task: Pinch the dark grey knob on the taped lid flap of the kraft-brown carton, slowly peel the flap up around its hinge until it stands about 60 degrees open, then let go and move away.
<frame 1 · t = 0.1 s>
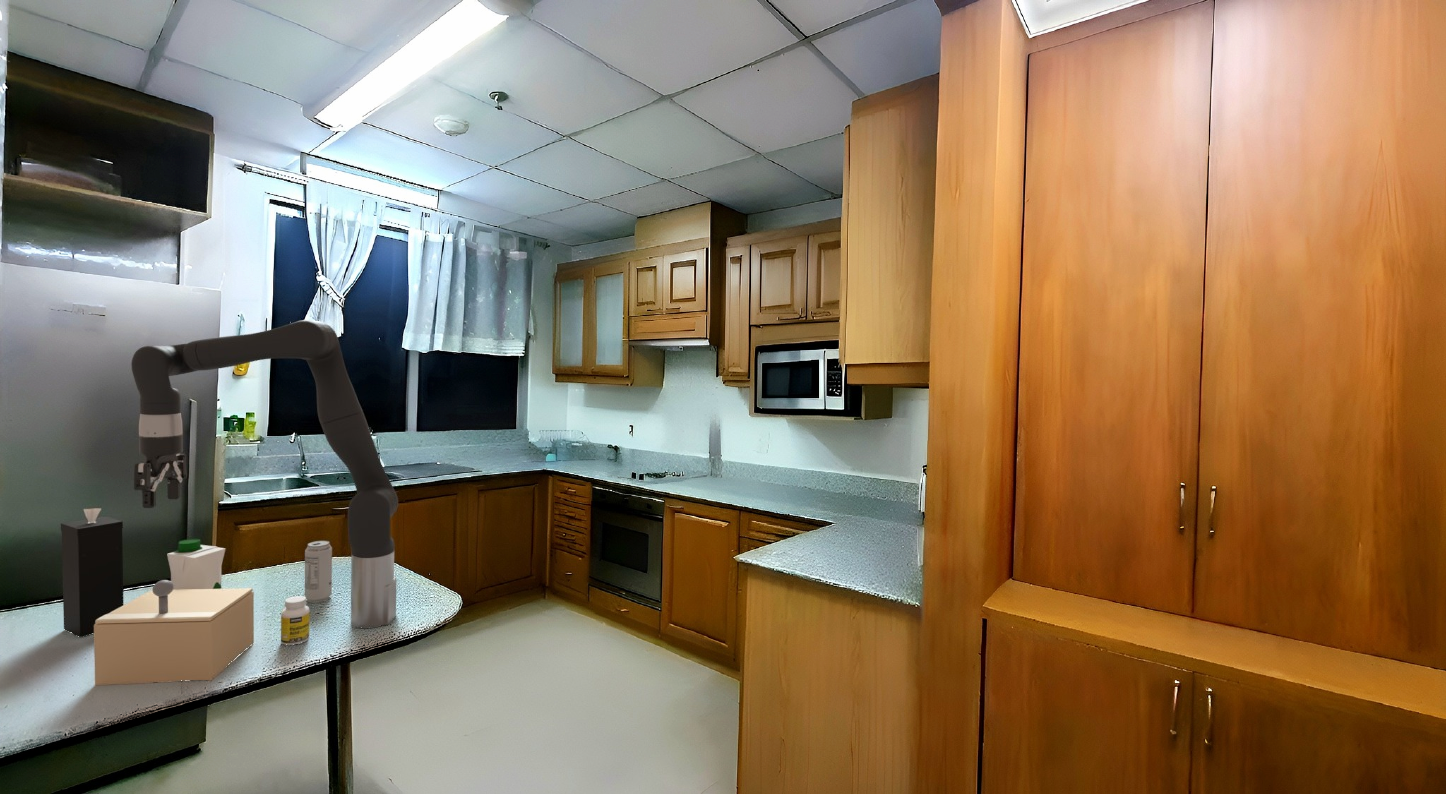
hand: (162, 503, 149), 29 cm above the table, tool pointing down, fingers open, 8 cm apart
flap: (179, 588, 134), point 16 cm above the table, hinge at 0.0°
energy drink can: (318, 599, 171), on the table
milk carton: (197, 626, 153), on the table
carton: (180, 662, 135), on the table
supplement bottle: (295, 641, 148), on the table
tall black box: (94, 628, 149), on the table
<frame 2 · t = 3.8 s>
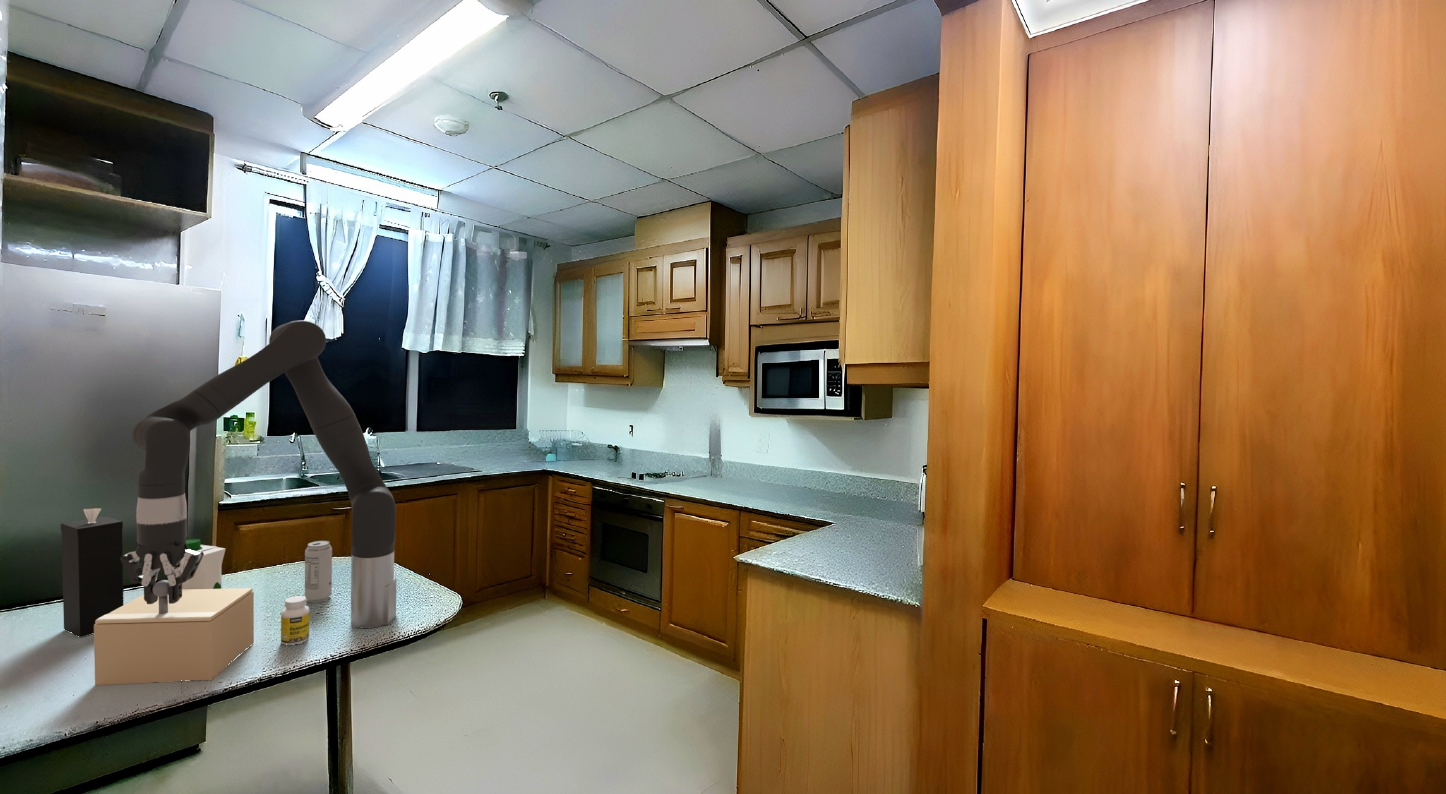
hand: (163, 602, 129), 15 cm above the table, tool pointing down, fingers closed on flap, 3 cm apart
flap: (179, 588, 134), point 16 cm above the table, hinge at 0.0°, touching gripper
everything else where it was.
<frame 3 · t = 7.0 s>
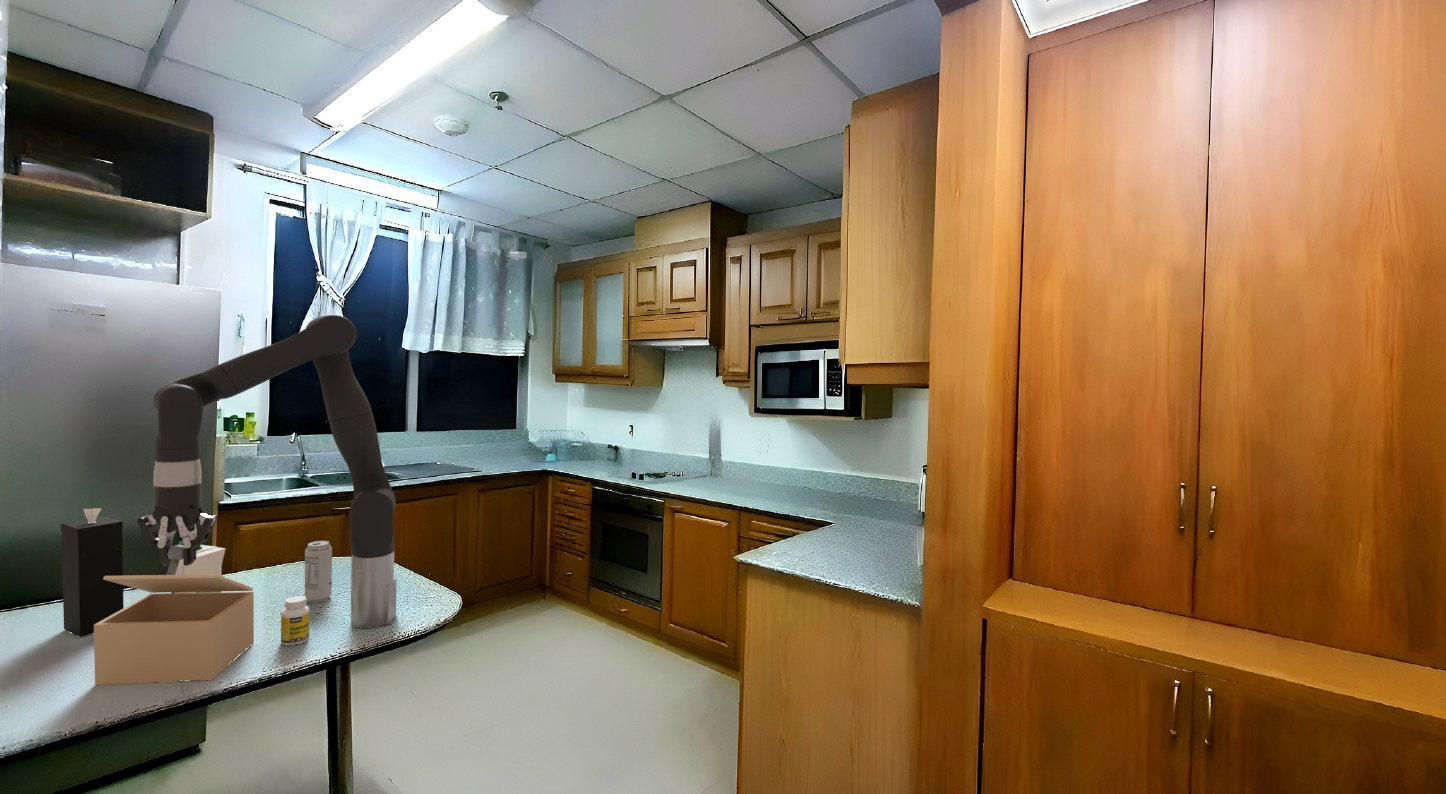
hand: (177, 564, 134), 21 cm above the table, tool pointing down, fingers closed on flap, 3 cm apart
flap: (188, 567, 137), point 19 cm above the table, hinge at 30.1°, touching gripper
everything else where it was.
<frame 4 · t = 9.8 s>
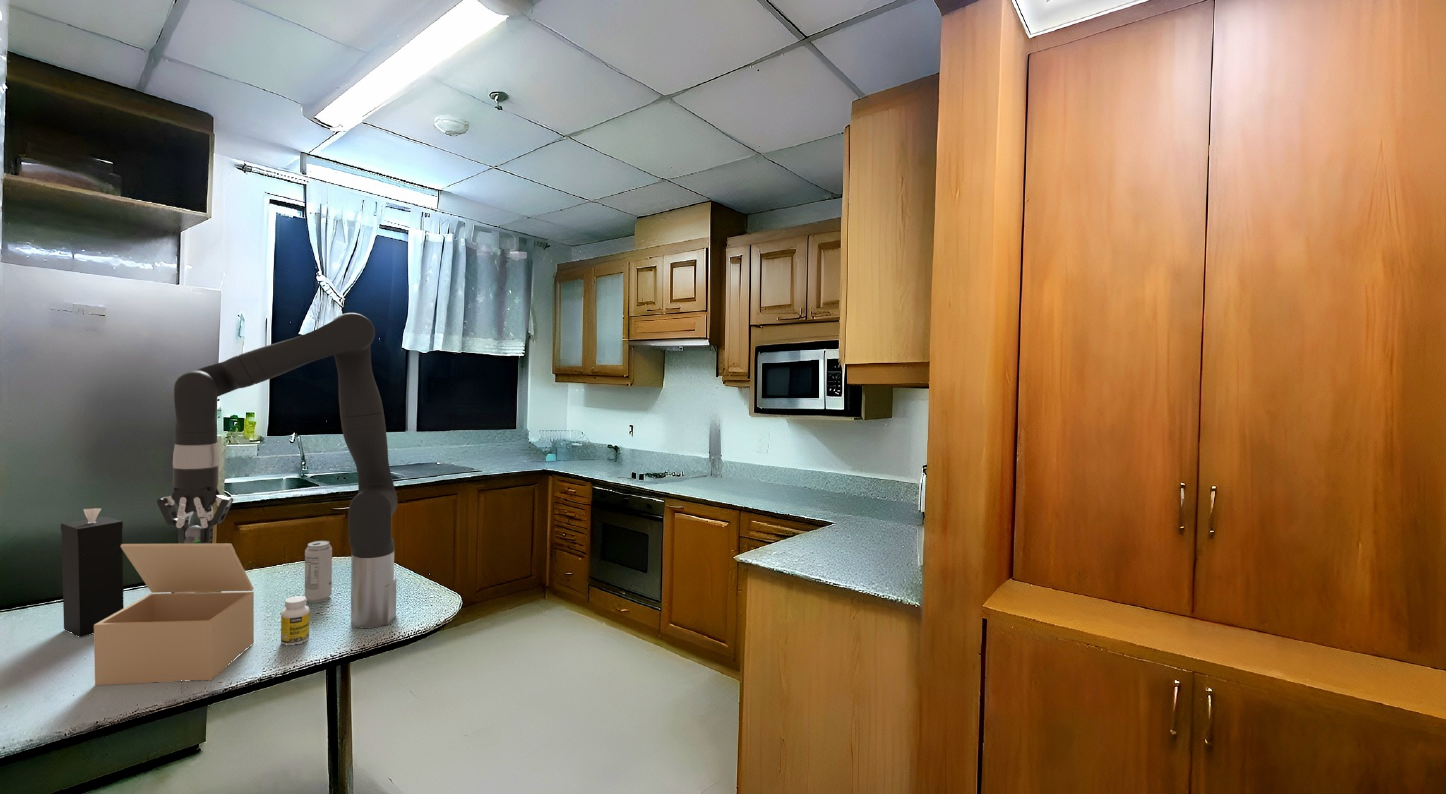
hand: (195, 543, 139), 24 cm above the table, tool pointing down, fingers closed on flap, 3 cm apart
flap: (198, 555, 140), point 21 cm above the table, hinge at 55.3°, touching gripper
everything else where it was.
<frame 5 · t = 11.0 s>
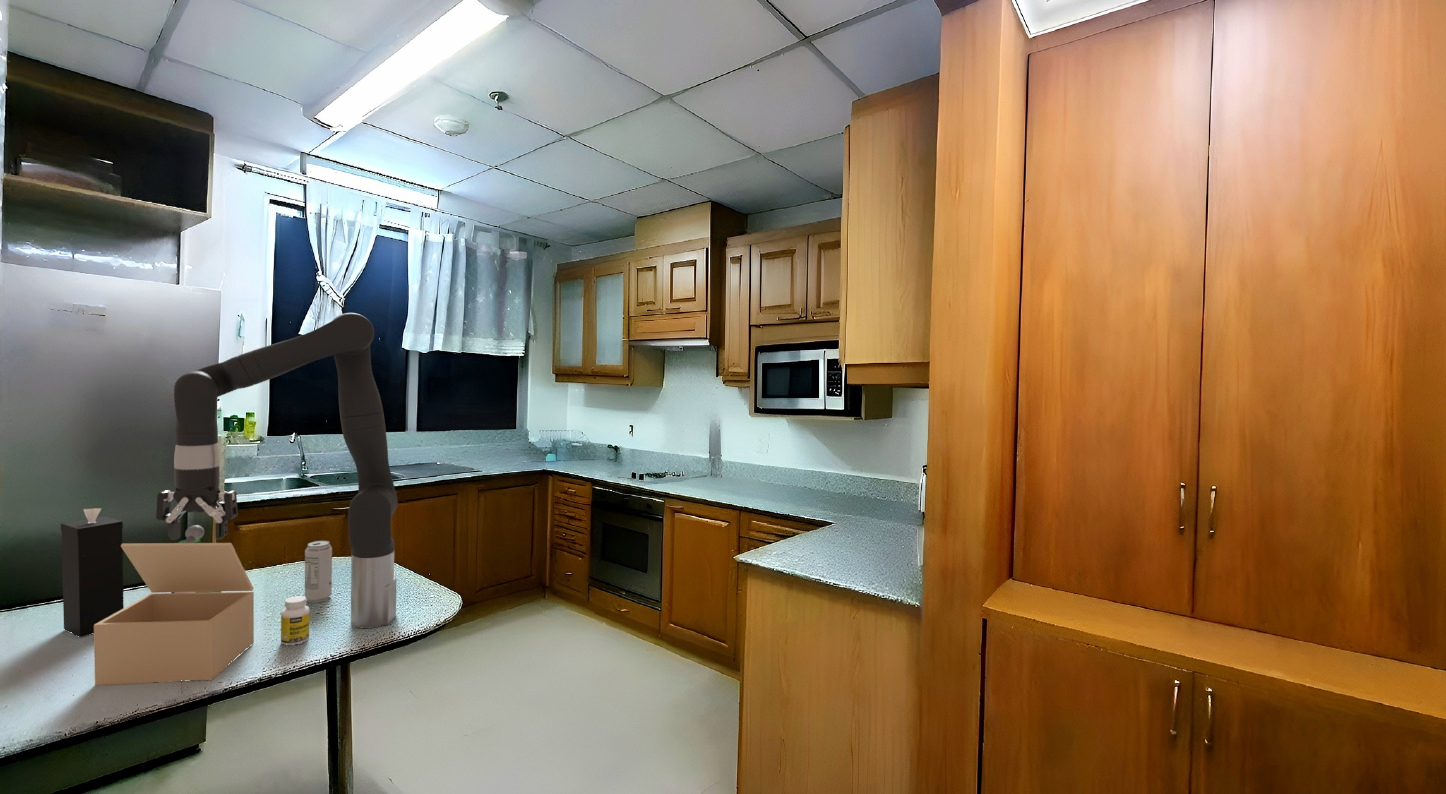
hand: (197, 538, 140), 24 cm above the table, tool pointing down, fingers open, 8 cm apart
flap: (198, 555, 140), point 21 cm above the table, hinge at 55.7°
everything else where it was.
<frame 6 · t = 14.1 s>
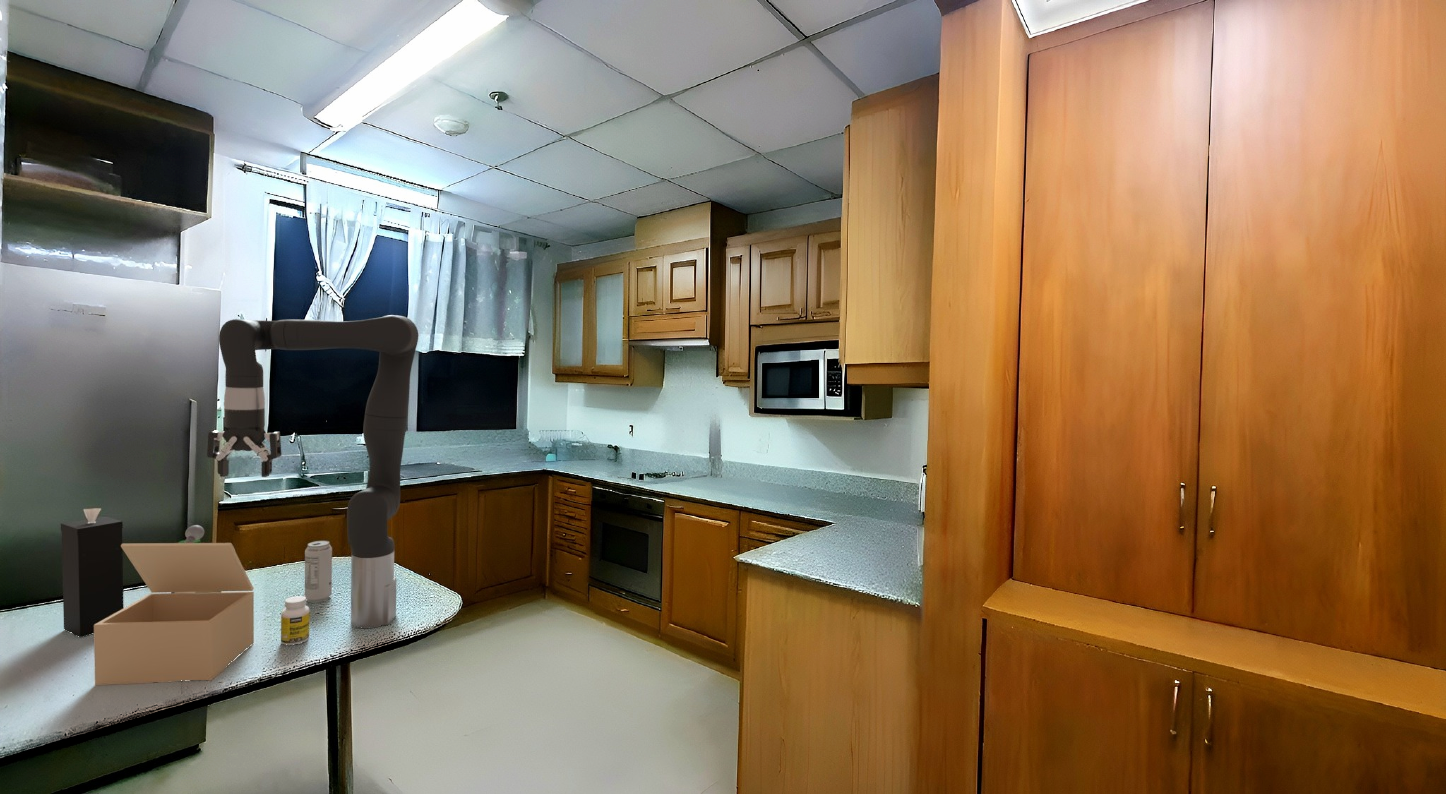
hand: (244, 476, 150), 36 cm above the table, tool pointing down, fingers open, 8 cm apart
nothing on the table moved.
at the end: flap at +56° (first picture: +0°); the gripper is holding nothing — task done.
